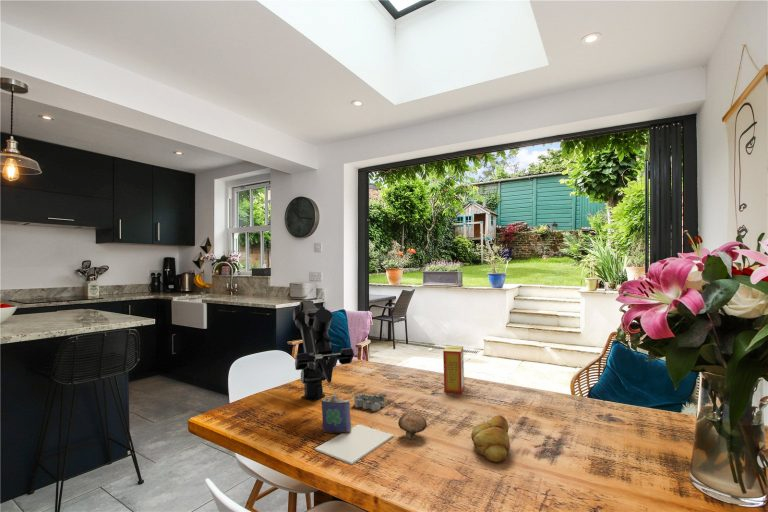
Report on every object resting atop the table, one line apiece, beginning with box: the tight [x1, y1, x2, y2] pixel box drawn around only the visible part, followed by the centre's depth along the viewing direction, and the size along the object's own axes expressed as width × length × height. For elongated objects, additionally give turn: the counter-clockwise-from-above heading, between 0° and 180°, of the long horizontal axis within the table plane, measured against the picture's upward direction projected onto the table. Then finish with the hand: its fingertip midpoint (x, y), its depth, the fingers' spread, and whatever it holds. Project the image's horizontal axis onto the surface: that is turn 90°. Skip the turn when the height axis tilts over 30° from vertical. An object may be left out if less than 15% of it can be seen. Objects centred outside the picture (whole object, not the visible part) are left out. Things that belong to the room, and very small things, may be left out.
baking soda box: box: [442, 345, 465, 394], centre depth 147 cm, size 10×6×16 cm
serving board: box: [314, 424, 395, 465], centre depth 103 cm, size 13×18×1 cm
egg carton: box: [352, 393, 387, 412], centre depth 131 cm, size 11×8×4 cm
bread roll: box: [470, 414, 511, 463], centre depth 97 cm, size 13×10×8 cm
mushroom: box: [397, 412, 428, 440], centre depth 107 cm, size 8×8×6 cm
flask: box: [321, 393, 352, 434], centre depth 111 cm, size 9×3×11 cm, turn 68°
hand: (329, 382), depth 117 cm, fingers closed
